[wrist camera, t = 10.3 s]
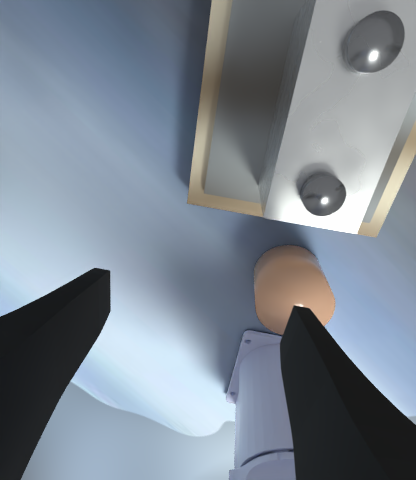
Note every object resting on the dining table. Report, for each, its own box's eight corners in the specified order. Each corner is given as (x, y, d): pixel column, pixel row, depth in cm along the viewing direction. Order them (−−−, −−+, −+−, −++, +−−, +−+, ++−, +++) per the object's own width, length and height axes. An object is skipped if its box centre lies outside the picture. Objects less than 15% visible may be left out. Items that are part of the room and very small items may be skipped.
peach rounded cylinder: (308, 304, 23) (320, 342, 20) (247, 293, 24) (248, 328, 20) (329, 251, 21) (347, 283, 18) (261, 238, 21) (265, 267, 18)
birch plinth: (364, 224, 20) (379, 241, 18) (192, 193, 20) (185, 206, 18) (459, 6, 14) (499, -10, 12) (221, -32, 15) (217, -54, 13)
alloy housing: (326, 196, 17) (361, 240, 12) (257, 185, 17) (264, 223, 12) (383, 29, 13) (468, -11, 8) (295, 16, 13) (326, -31, 8)
